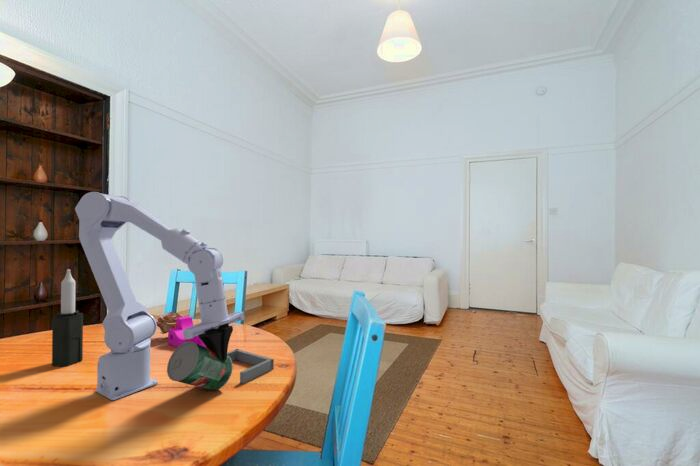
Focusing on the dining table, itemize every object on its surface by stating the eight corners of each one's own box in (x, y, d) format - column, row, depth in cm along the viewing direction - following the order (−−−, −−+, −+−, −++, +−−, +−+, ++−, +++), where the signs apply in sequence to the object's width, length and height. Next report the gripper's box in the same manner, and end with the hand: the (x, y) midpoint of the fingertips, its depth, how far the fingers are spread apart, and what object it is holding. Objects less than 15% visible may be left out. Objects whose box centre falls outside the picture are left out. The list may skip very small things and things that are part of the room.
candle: (65, 367, 85) (66, 270, 85) (49, 365, 86) (50, 269, 86) (84, 359, 90) (85, 268, 90) (69, 358, 91) (70, 267, 91)
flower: (156, 334, 113) (157, 311, 113) (186, 331, 117) (187, 309, 117) (153, 343, 104) (153, 318, 104) (185, 339, 108) (186, 315, 108)
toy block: (168, 343, 105) (168, 319, 105) (187, 338, 110) (187, 316, 110) (193, 354, 96) (193, 328, 96) (213, 348, 101) (213, 323, 101)
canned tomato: (232, 349, 79) (199, 335, 70) (233, 383, 73) (196, 372, 65) (205, 361, 80) (169, 349, 72) (203, 395, 75) (164, 386, 66)
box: (242, 383, 77) (243, 373, 77) (205, 370, 84) (205, 360, 84) (273, 368, 86) (273, 359, 86) (236, 357, 93) (237, 348, 93)
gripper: (193, 308, 67) (203, 375, 66) (249, 293, 79) (257, 349, 79) (173, 309, 70) (183, 373, 70) (230, 294, 83) (238, 348, 82)
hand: (221, 360), depth 74 cm, fingers closed, pressing on canned tomato
